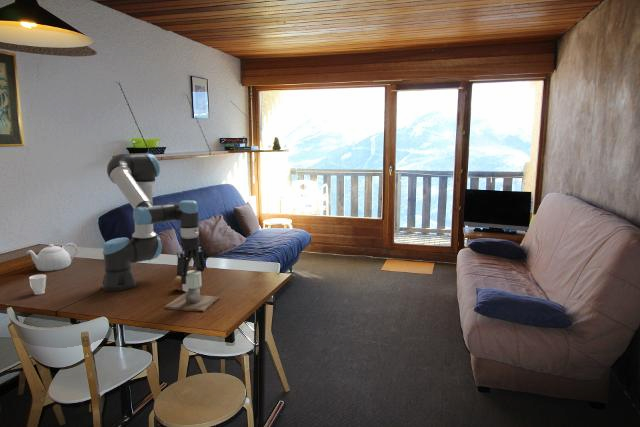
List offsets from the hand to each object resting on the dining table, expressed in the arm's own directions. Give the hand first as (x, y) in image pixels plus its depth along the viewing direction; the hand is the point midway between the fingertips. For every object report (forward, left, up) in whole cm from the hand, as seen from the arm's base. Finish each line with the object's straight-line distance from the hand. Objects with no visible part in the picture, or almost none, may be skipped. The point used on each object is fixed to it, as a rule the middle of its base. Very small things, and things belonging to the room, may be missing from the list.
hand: (192, 288), depth 191 cm
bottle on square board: (0, 0, -7) cm, 7 cm away
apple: (-14, +16, -7) cm, 22 cm away
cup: (-79, -2, -7) cm, 79 cm away
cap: (0, 0, +1) cm, 1 cm away
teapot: (-105, +36, -7) cm, 111 cm away
